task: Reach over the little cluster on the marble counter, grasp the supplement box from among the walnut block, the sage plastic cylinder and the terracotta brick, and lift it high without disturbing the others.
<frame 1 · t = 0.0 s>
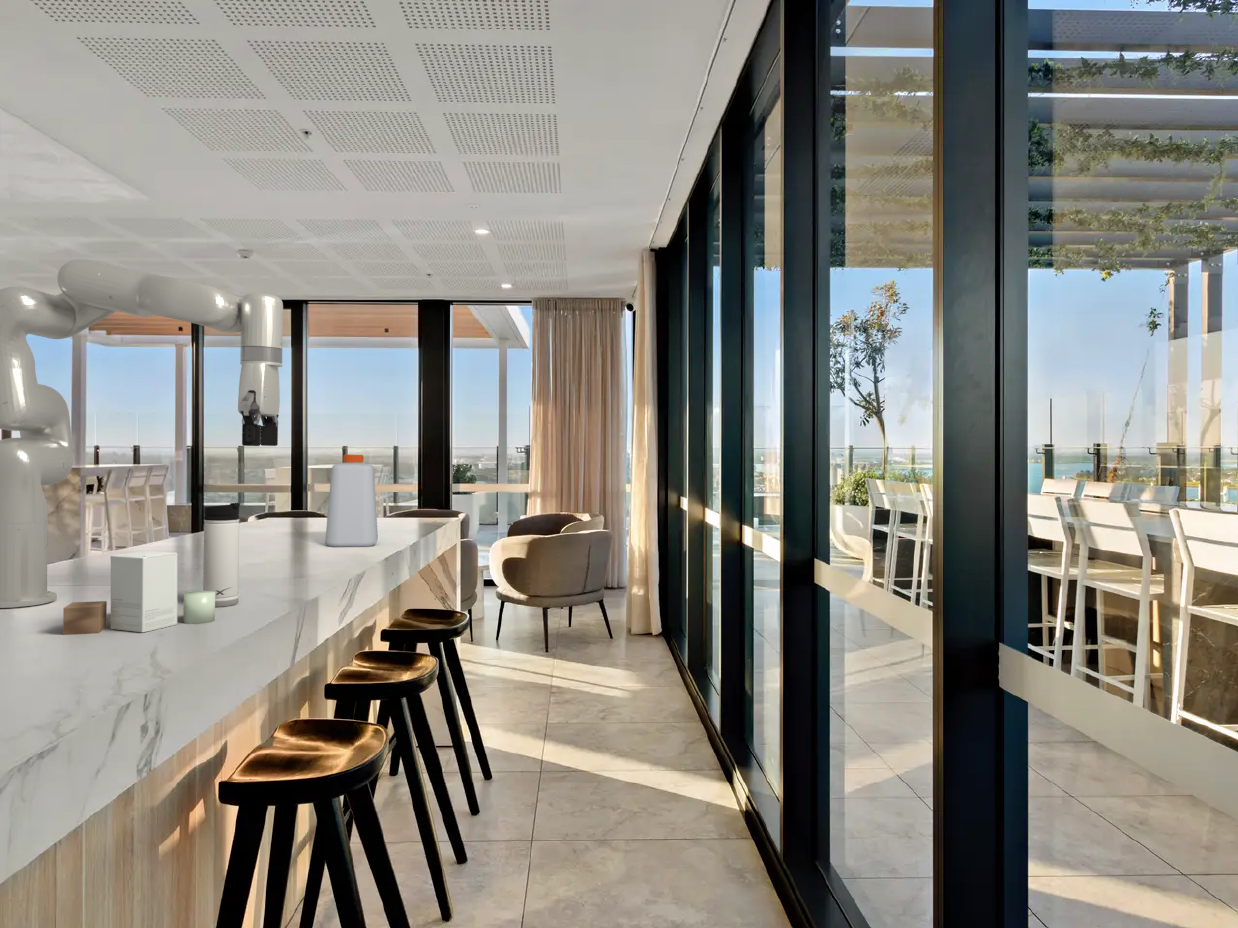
hand: (260, 445, 161), 31 cm above the counter, fingers open, 9 cm apart
plastic bottle: (352, 544, 257), on the counter
supplement box: (144, 628, 141), on the counter
walnut block: (85, 631, 137), on the counter
sage plastic cylinder: (199, 621, 146), on the counter
travel mug: (221, 605, 161), on the counter
terracotta brick: (145, 616, 149), on the counter
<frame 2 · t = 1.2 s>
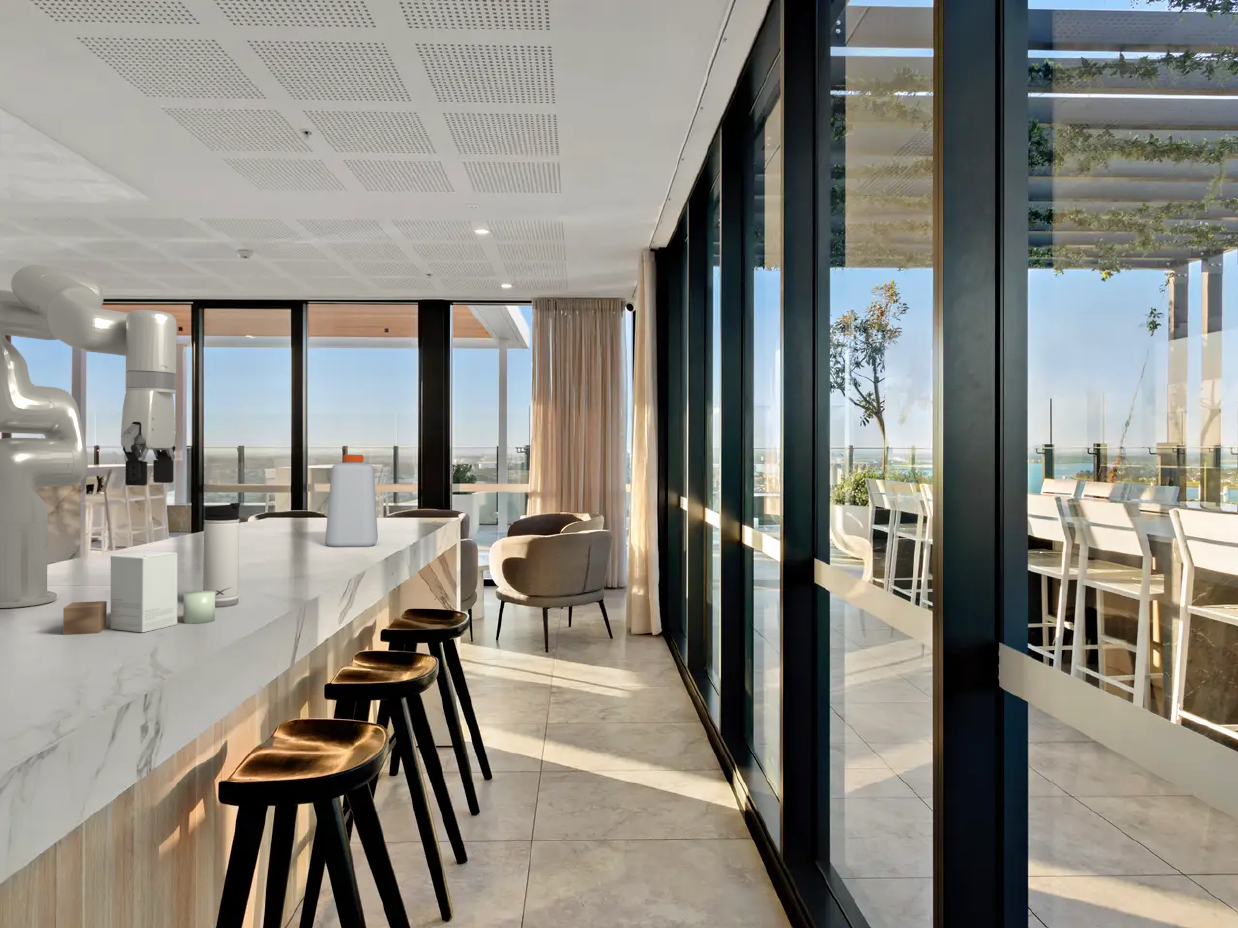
hand: (150, 483, 141), 24 cm above the counter, fingers open, 9 cm apart
nothing on the counter moved.
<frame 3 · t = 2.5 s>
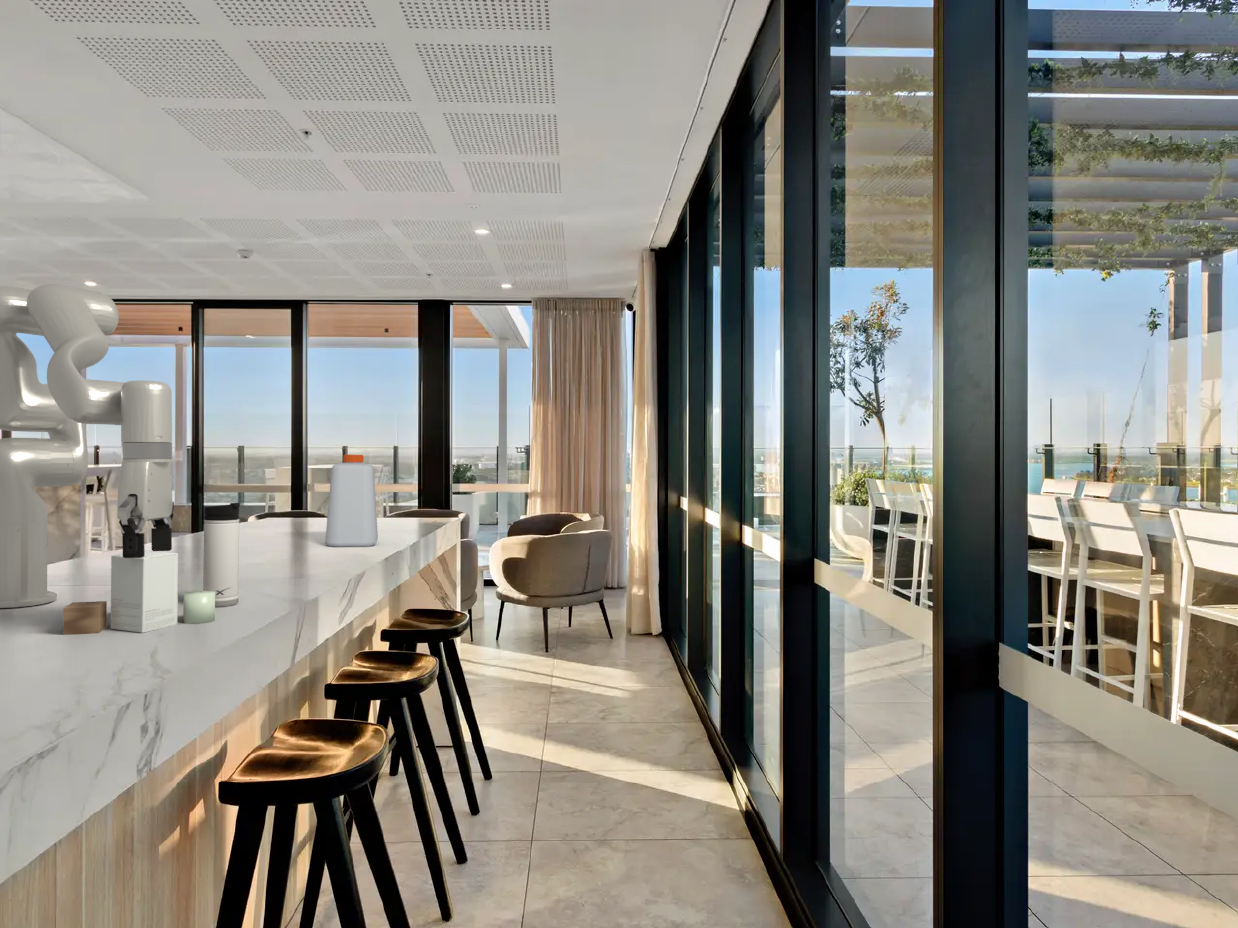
hand: (148, 554, 140), 13 cm above the counter, fingers open, 9 cm apart
supplement box: (144, 628, 141), on the counter, touching gripper
everything else where it was.
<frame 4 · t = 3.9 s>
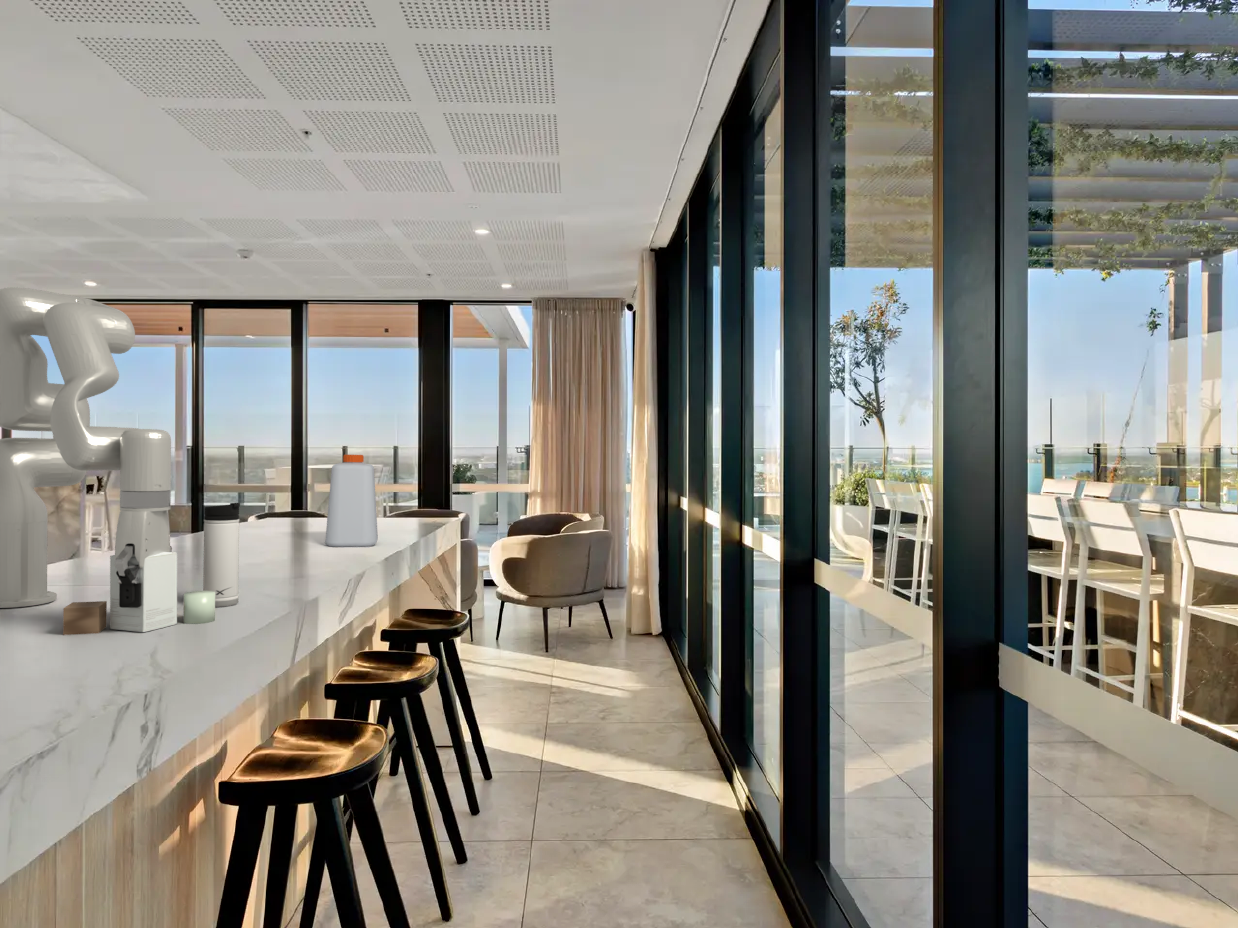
hand: (144, 601, 141), 4 cm above the counter, fingers closed on supplement box, 9 cm apart
supplement box: (143, 627, 141), on the counter, touching gripper
everything else where it was.
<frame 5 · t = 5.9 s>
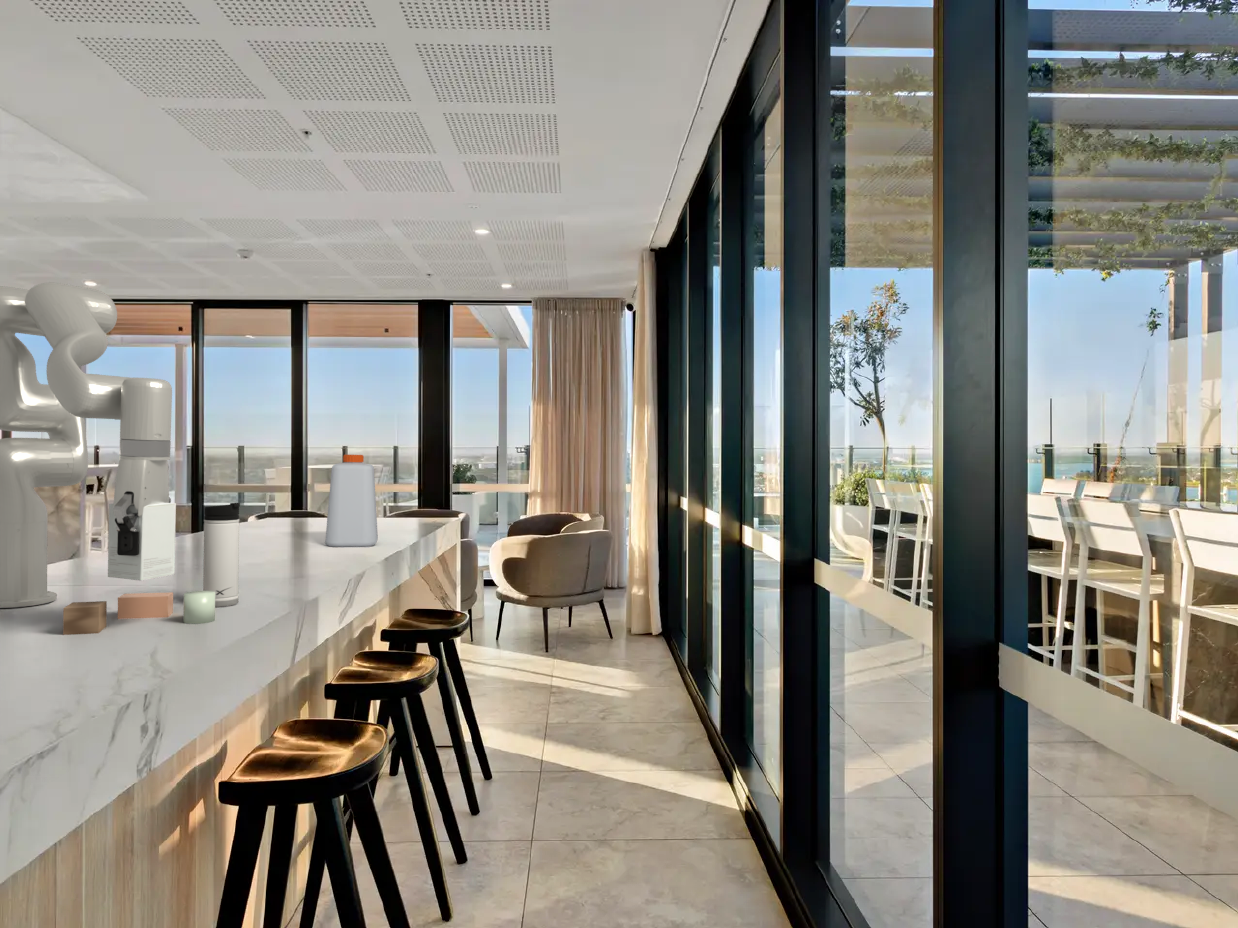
hand: (142, 550, 141), 13 cm above the counter, fingers closed on supplement box, 9 cm apart
supplement box: (141, 577, 141), point 8 cm above the counter, touching gripper
everything else where it was.
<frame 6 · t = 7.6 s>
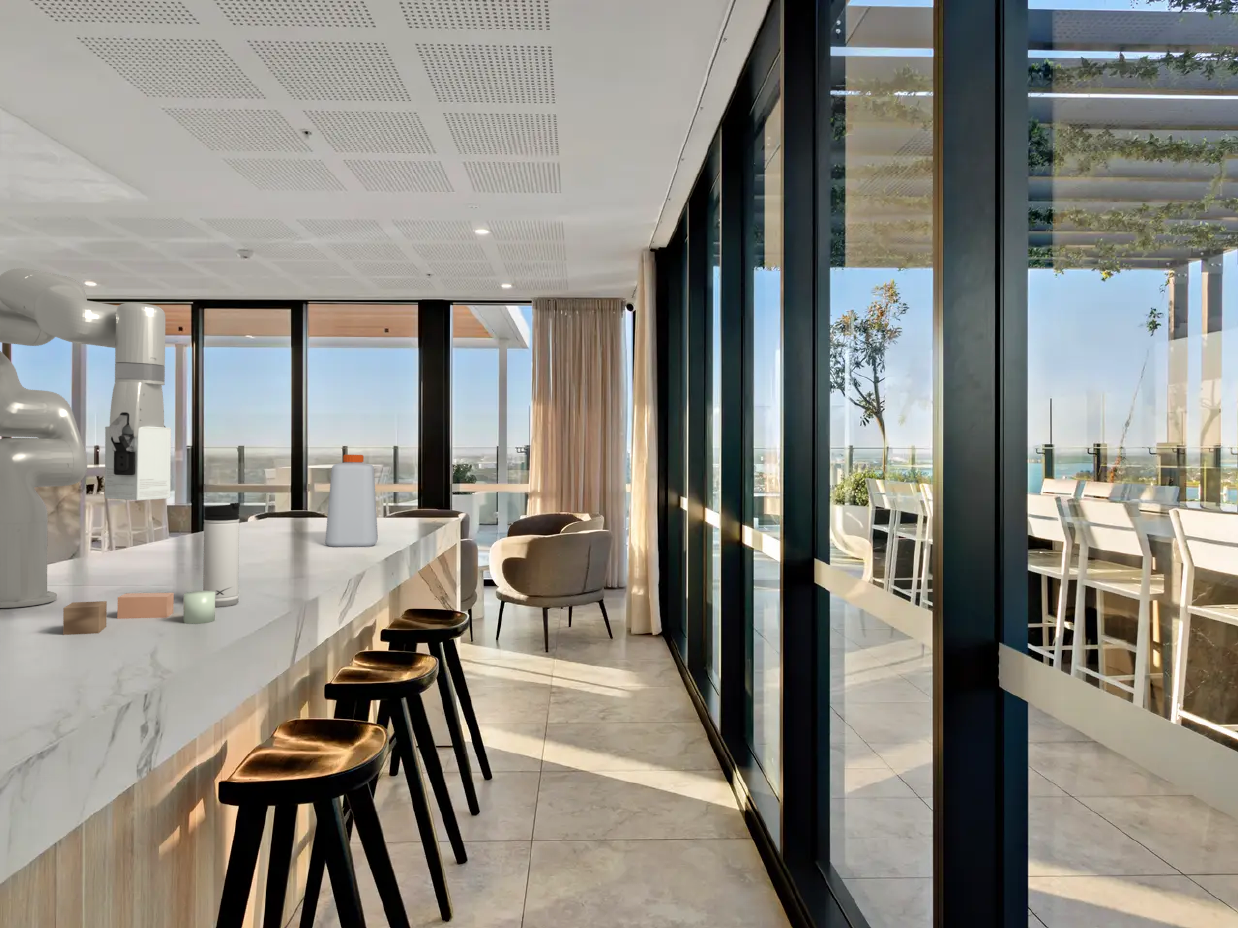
hand: (138, 473, 144), 26 cm above the counter, fingers closed on supplement box, 9 cm apart
supplement box: (137, 499, 144), point 21 cm above the counter, touching gripper
everything else where it was.
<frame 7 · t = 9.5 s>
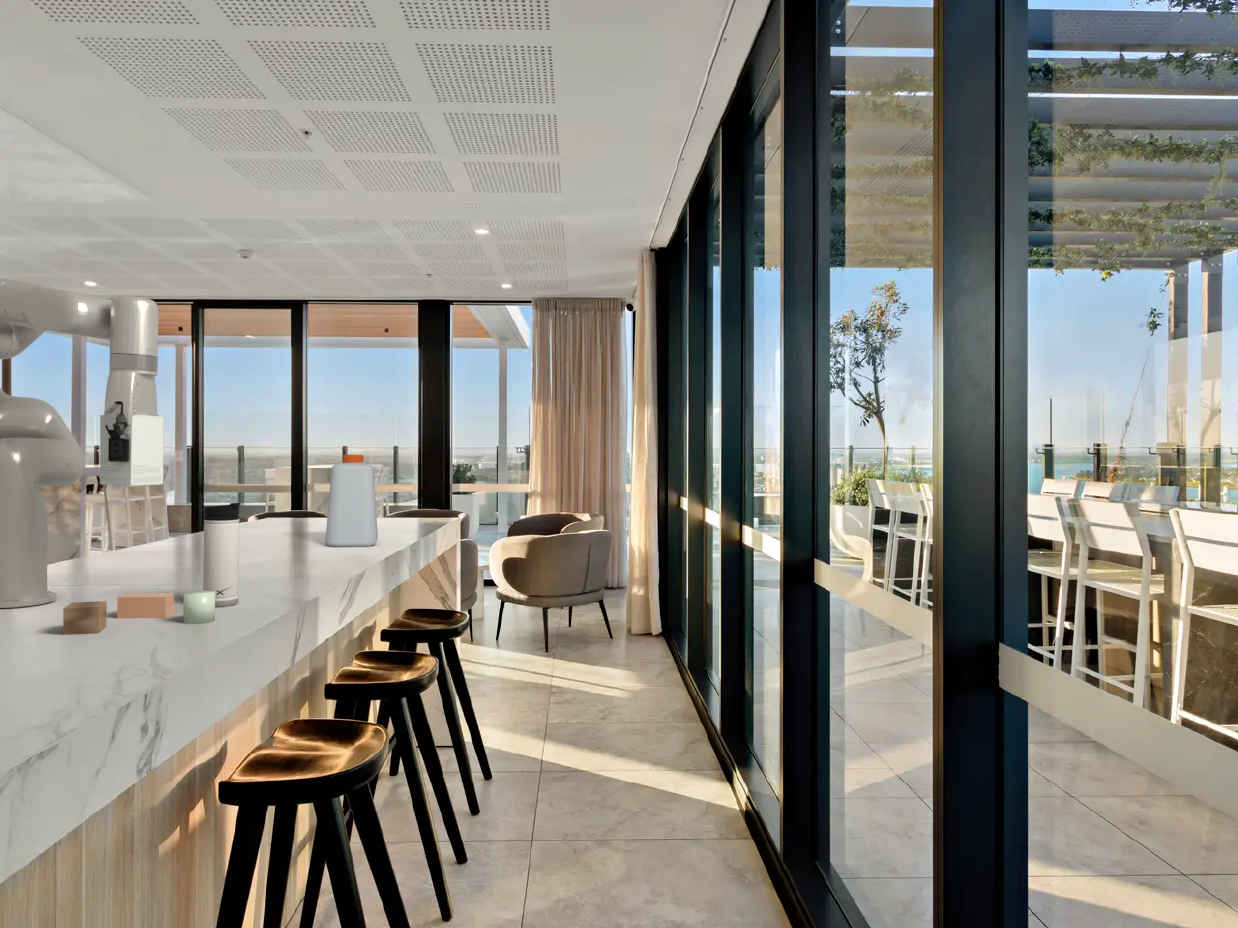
hand: (132, 460, 150), 28 cm above the counter, fingers closed on supplement box, 9 cm apart
supplement box: (131, 485, 150), point 24 cm above the counter, touching gripper
everything else where it was.
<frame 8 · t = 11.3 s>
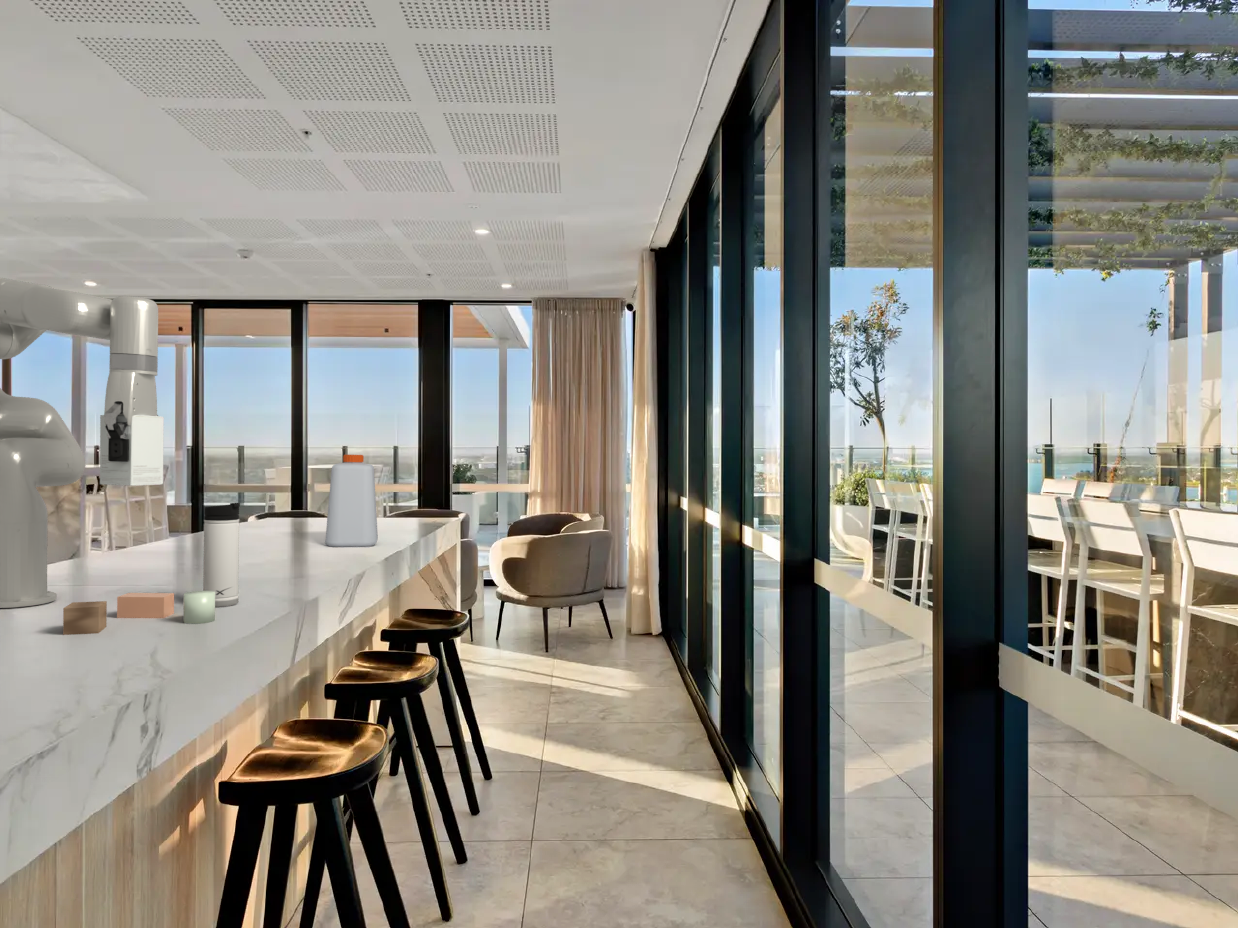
hand: (132, 460, 150), 28 cm above the counter, fingers closed on supplement box, 9 cm apart
supplement box: (131, 485, 150), point 24 cm above the counter, touching gripper
everything else where it was.
at the end: the gripper is holding supplement box; supplement box point 23.5 cm above the counter; walnut block moved 0.2 cm from its start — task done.
